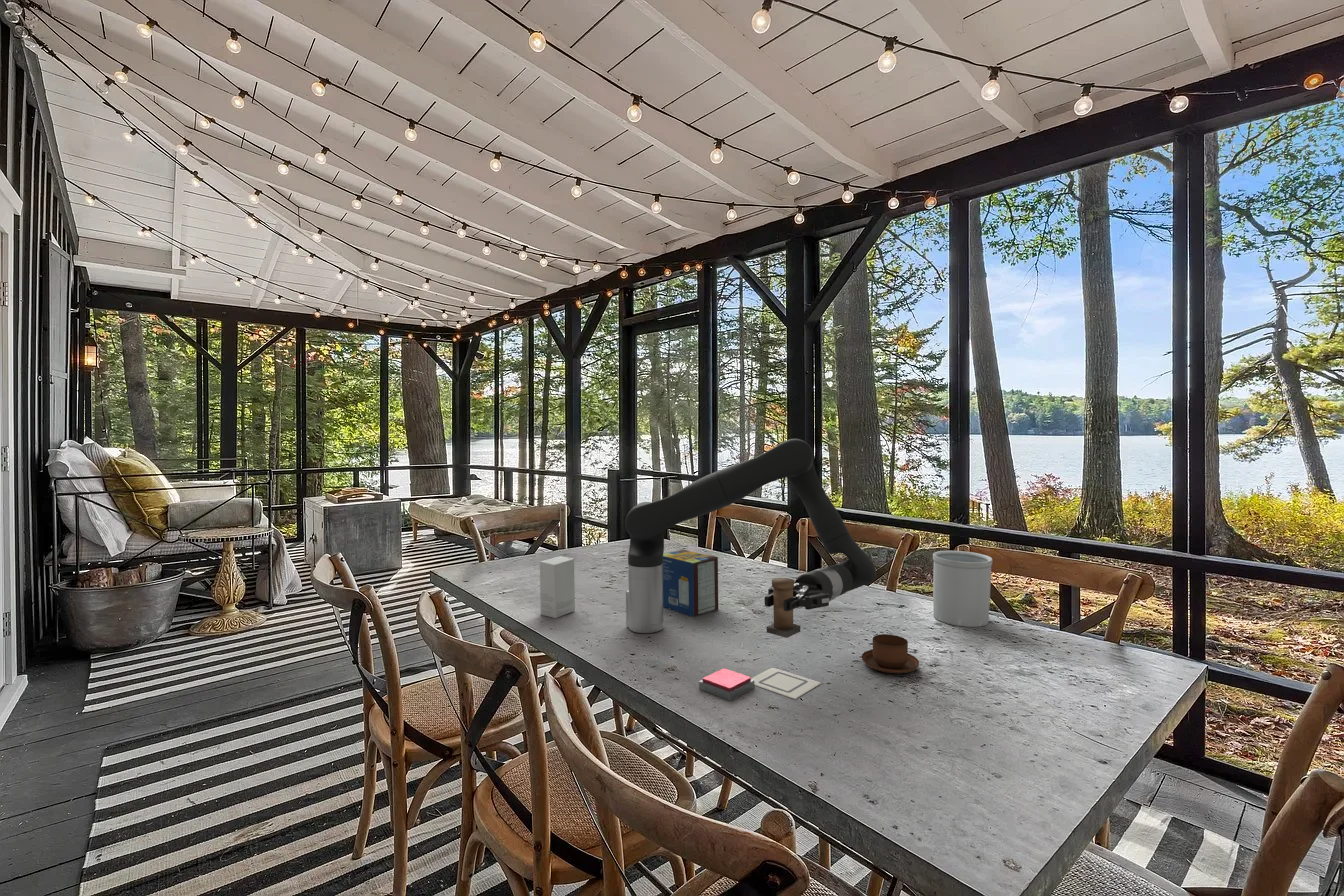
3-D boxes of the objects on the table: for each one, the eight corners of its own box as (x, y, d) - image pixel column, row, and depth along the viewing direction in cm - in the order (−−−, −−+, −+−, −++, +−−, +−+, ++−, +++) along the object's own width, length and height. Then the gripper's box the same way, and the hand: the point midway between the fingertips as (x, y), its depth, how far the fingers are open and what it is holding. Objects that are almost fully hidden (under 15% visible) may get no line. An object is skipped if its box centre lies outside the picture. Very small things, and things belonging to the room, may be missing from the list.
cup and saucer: (850, 662, 139) (850, 635, 139) (891, 653, 144) (891, 627, 144) (888, 682, 128) (888, 653, 128) (931, 672, 133) (931, 644, 133)
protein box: (682, 598, 190) (682, 549, 190) (719, 609, 179) (718, 556, 178) (657, 605, 183) (656, 554, 183) (693, 617, 172) (693, 562, 171)
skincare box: (560, 607, 182) (560, 555, 181) (576, 611, 178) (576, 558, 177) (539, 615, 175) (538, 560, 174) (555, 619, 171) (554, 563, 171)
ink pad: (699, 688, 125) (699, 678, 125) (723, 677, 131) (723, 666, 131) (730, 700, 120) (730, 689, 120) (754, 687, 126) (754, 677, 125)
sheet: (745, 682, 128) (745, 680, 128) (772, 668, 136) (772, 666, 136) (795, 699, 120) (795, 698, 120) (821, 683, 127) (821, 682, 127)
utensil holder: (1002, 621, 166) (1003, 557, 166) (972, 632, 158) (973, 564, 157) (951, 608, 179) (952, 548, 178) (920, 617, 170) (921, 554, 170)
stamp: (766, 632, 127) (766, 580, 127) (780, 626, 131) (779, 576, 131) (787, 638, 124) (786, 585, 123) (800, 631, 128) (800, 580, 127)
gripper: (791, 565, 142) (747, 580, 130) (848, 575, 133) (806, 592, 120) (791, 597, 143) (747, 615, 130) (848, 609, 133) (806, 629, 120)
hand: (775, 603), depth 125 cm, fingers closed on stamp, 4 cm apart
